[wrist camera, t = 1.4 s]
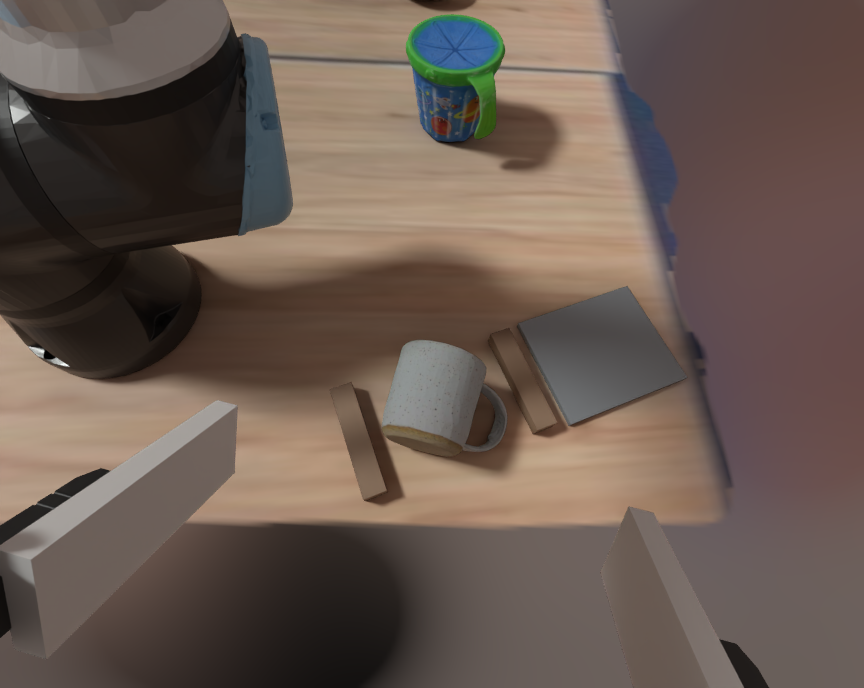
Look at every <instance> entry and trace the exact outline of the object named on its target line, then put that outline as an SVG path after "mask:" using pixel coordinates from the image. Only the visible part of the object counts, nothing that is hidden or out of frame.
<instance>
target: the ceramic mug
mask: <svg viewBox="0 0 864 688" xmlns="http://www.w3.org/2000/svg"><path fill="white" fill-rule="evenodd" d="M485 375H486V366H485V364H484V363H483V362H482V361H481V360H480V359H479V358H477V357H476V356H475V355H473V354H471V353H469V352H467V351H466V350H463V349H461V348H459V347H456V346H453V345H450V344H446V343H442V342H436V341H431V340H415V341H411V342H408V343H406V344H405V345H404V346H403V348H402V350H401V354H400V358H399V362H398V365H397V368H396V371H395V375H394V378H393V382H392V386H391V390H390V393H389V396H388V400H387V403H386V406H385V410H384V414H383V422H382V431H383V433H384V435H385V437H387V438H388V439H389V440H391V441H393V442H395V443H398V444H400V445H403V446H406V447H409V448H412V449H415V450H418V451H422V452H426V453H430V454H435V455H440V456H455V455H457V454H459V453H460V452H461V451H462V450H464V451H471V452H483V451H488V450H490V449H492V448H494V447H495V446H496V445H497V444H499V442H500V441H501V439H502V437H503V436H504V433H505V430H506V426H507V411H506V408H505V406H504V404H503V402H502V400H501V399H500V397H499V396H498V395H497V394H496V393H495V391H493V390H492V389H491V388H490V387H488V386H487V385H486V384H484V383H483V382H484V379H485ZM480 392H481V393H482V394H484V395H485V396H486V397H487V398H488V399H489V400H490V402H491V403H492V405H493V407H494V410H495V421H494V424H493V427H492V431H491V433H490V434H489V435H488V440H487V442H486V443H485V444H484V445H481V446H479V447H477V446H471V445H468V444H466V440H467V438H468V436H469V432H470V428H471V425H472V420H473V415H474V412H475V409H476V406H477V402H478V399H479V396H480Z"/></svg>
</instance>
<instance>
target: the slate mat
mask: <svg viewBox="0 0 864 688" xmlns="http://www.w3.org/2000/svg"><path fill="white" fill-rule="evenodd" d="M517 327H518V329H519V331H520V333H521V335H522V337H523V339H524V340H525V342H526V344H527V346H528V348H529V350H530V352H531V354H532V356H533V358H534V360H535V362H536V364H537V366H538V367H539V369H540V371H541V373H542V375H543V377H544V379H545V381H546V383H547V385H548V387H549V389H550V391H551V393H552V394H553V396H554V398H555V400H556V402H557V404H558V406H559V408H560V410H561V412H562V414H563V416H564V418H565V420H566V422H567V423H568V425H572V424H574V423H577V422H579V421H582V420H584V419H587V418H589V417H592V416H594V415H597V414H599V413H602V412H604V411H607V410H609V409H612V408H614V407H617V406H619V405H622V404H624V403H626V402H629V401H631V400H634V399H636V398H639V397H641V396H644V395H646V394H649V393H651V392H654V391H656V390H659V389H661V388H664V387H666V386H669V385H671V384H674V383H676V382H679V381H681V380H684V379H685V378H687V376H686V374H685V373H684V371H683V370H682V368H681V367H680V365H679V364H678V362H677V361H676V359H675V358H674V356H673V355H672V353H671V352H670V350H669V349H668V347H667V346H666V344H665V343H664V341H663V340H662V338H661V337H660V335H659V334H658V332H657V331H656V329H655V327H654V326H653V324H652V323H651V321H650V320H649V318H648V317H647V315H646V314H645V312H644V311H643V309H642V308H641V306H640V305H639V303H638V302H637V300H636V299H635V297H634V296H633V294H632V293H631V291H630V290H629V288H628V287H627V286H626V287H623V288H620V289H617V290H614V291H611V292H608V293H605V294H602V295H600V296H597V297H594V298H591V299H588V300H585V301H582V302H579V303H576V304H573V305H570V306H567V307H565V308H562V309H559V310H556V311H553V312H550V313H547V314H544V315H541V316H538V317H535V318H532V319H530V320H527V321H524V322H521V323H518V325H517Z"/></svg>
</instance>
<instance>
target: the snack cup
mask: <svg viewBox="0 0 864 688" xmlns="http://www.w3.org/2000/svg"><path fill="white" fill-rule="evenodd" d="M406 53H407V55H408V58H409V61H410V64H411V66H412V68H413V74H414V83H415V90H416V96H417V103H418V110H419V115H420V122H421V124H422V126H423V129H424V130H425V131H426V132H427V133H428V134H429V135H431V136H432V137H433V138H434V139H435V140H437V141H439V140H441V141H446V142H455V141H465V140H466V139H468V137H469V136H471V135H472V134H473V133H474V132H475V134H474V137H475V138H476V139H481V138H483V137H486V136H488V135H489V134H490V133H492V132H493V130H494V128H495V126H496V89H495V80H494V75H495V73H496V71H497V70H498V69H499V67H500V65H501V62H502V59H503V57H504V54H505V46H504V44H503V40H502V38H501V36H500V34H499V33H498V32H497V31H496V30H495V29H494V28H493V27H492V26H491V25H489V24H487V23H486V22H484V21H481V20H479V19H476V18H473V17H469V16H464V15H452V14H451V15H441V16H436V17H432V18H429V19H427V20H425V21H423V22H421V23H419V24H418V25H417V26H415V27H414V28H413V30H412V31H411V32H410V34H409V37H408V41H407V42H406Z"/></svg>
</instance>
